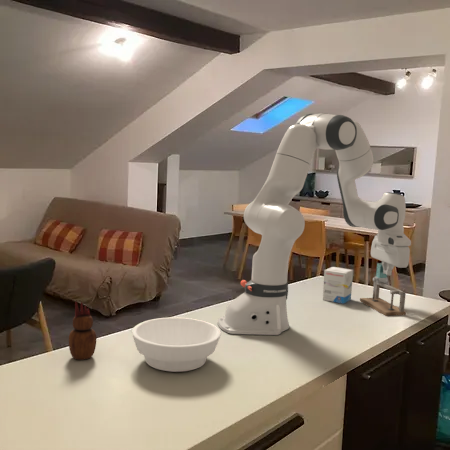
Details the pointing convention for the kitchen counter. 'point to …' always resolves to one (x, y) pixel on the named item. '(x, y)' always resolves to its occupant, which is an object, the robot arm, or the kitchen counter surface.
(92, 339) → the wooden figurine
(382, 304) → the board
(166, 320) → the bowl
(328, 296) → the ink box
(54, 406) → the kitchen counter surface
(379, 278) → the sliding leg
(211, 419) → the kitchen counter surface
